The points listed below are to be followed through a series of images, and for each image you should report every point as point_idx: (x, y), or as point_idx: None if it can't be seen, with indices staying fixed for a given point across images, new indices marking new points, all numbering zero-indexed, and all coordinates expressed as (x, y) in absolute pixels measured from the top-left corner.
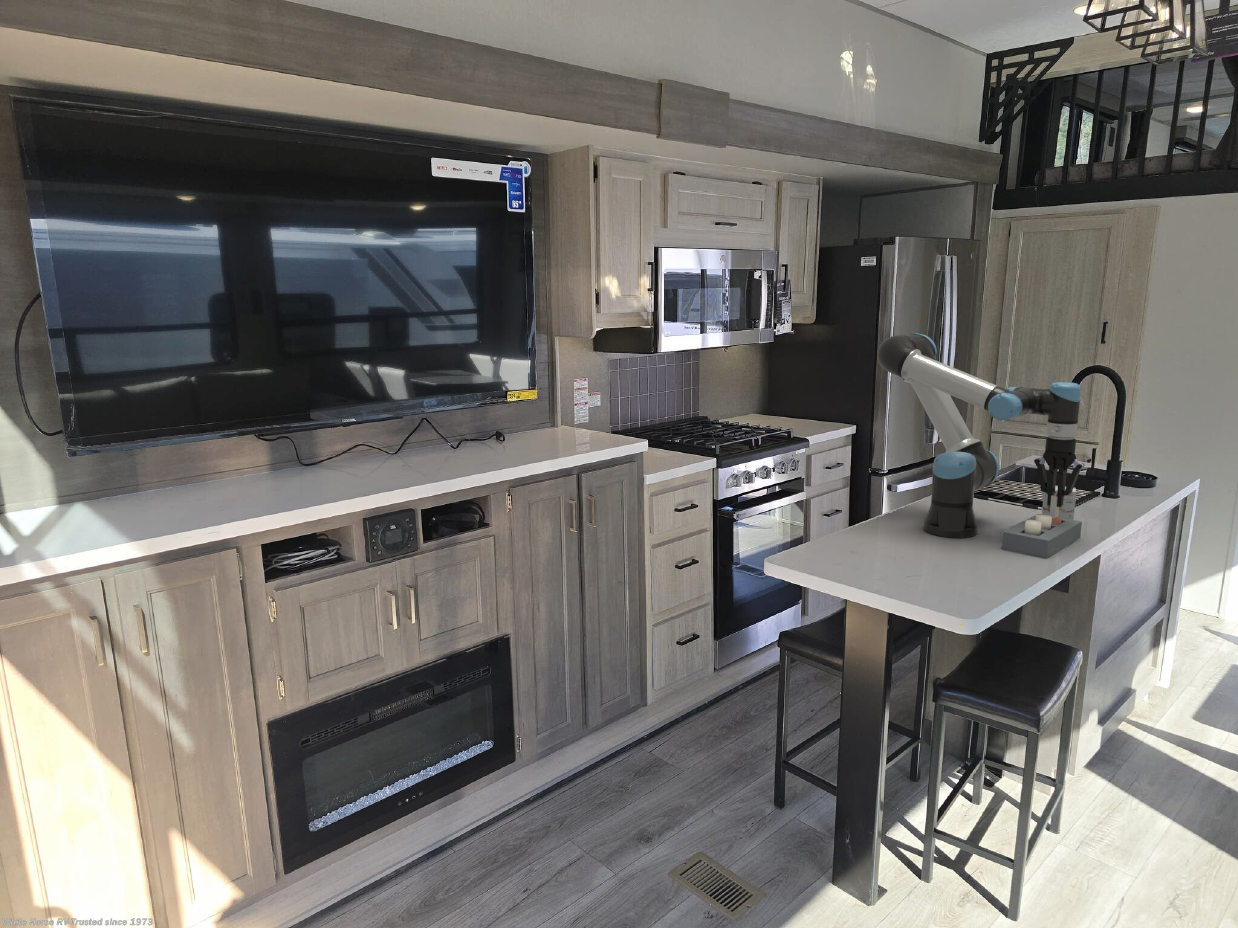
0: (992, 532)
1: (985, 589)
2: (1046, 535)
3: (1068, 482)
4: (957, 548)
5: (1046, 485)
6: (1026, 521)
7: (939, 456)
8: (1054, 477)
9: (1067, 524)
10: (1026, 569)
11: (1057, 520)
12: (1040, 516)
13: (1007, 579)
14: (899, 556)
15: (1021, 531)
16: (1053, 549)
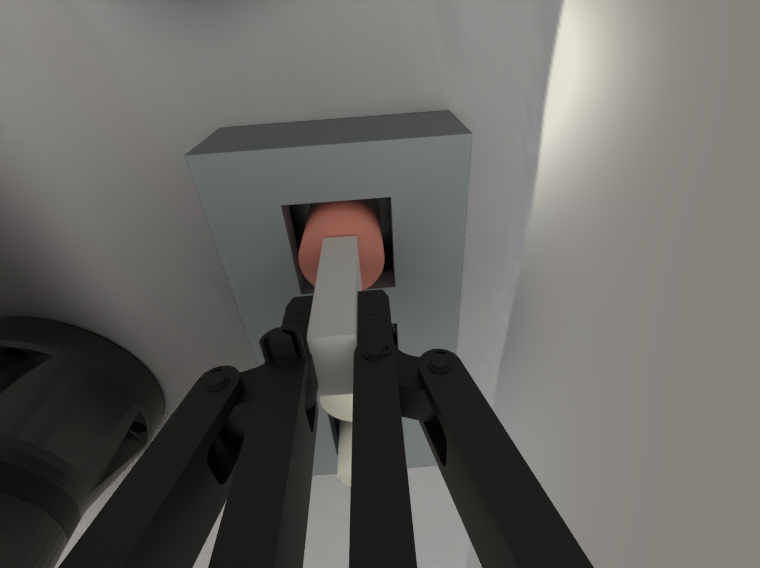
0: (151, 311)
1: (419, 564)
2: (421, 432)
3: (472, 532)
4: None
5: (214, 422)
6: (347, 483)
7: None
8: (294, 563)
9: (427, 258)
10: (430, 484)
11: (376, 276)
12: (346, 408)
13: (426, 529)
14: (206, 554)
15: (334, 443)
16: None
